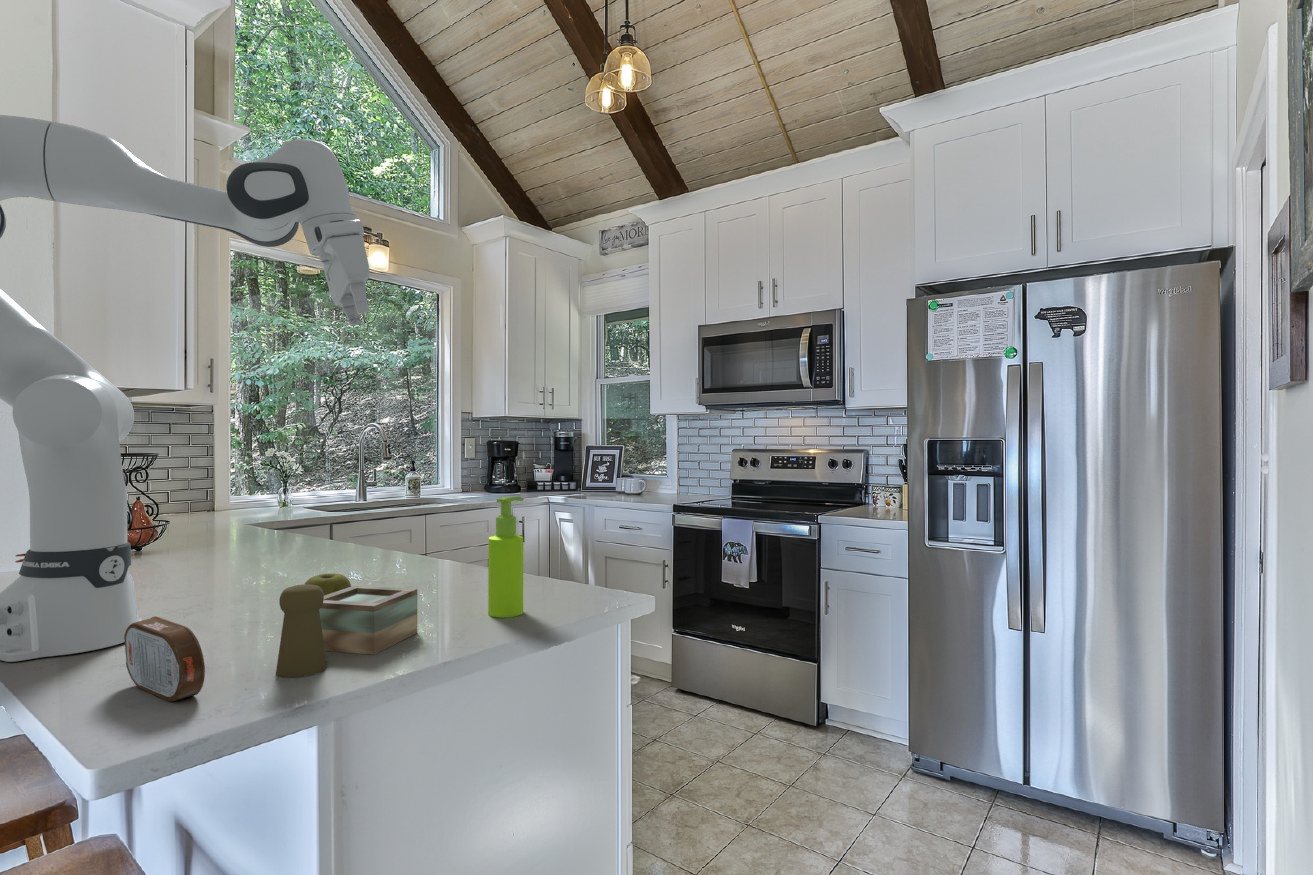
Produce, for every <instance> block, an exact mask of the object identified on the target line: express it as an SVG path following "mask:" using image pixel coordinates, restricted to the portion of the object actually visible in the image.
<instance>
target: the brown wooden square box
mask: <svg viewBox="0 0 1313 875" xmlns="http://www.w3.org/2000/svg"><path fill="white" fill-rule="evenodd" d="M319 612H320V619H321V626H322V633H323V640H324V647H325V652H336V653H347V654H348V653H350V654H360V655H361V654H364V655H376V654H378V653H380V652H382V651H384V650H386V649H389V648H390V647H392V646H394V645H396V644H398V643H400V642H402V641H404V640H406V639H407V638H410V637H412V636H414V635H416V634H418V588H407V587H404V588H403V587H388V586H387V587H386V586H373V585H371V586H367V585H351V587H349V588H346V589H343V590H340V591H337V592H334V593H331V594H328V595H325V596H324V601H323V605H322V606H321V608H320V609H319Z"/></svg>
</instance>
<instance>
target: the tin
mask: <svg viewBox="0 0 1313 875" xmlns="http://www.w3.org/2000/svg"><path fill="white" fill-rule="evenodd" d="M196 636H197V635H196V634H194V632H193V631H192V630H191V628H189V627H188V626H186V625H183V624H180V623H177V622H173V621H171V620H167V619H166V618H163V617H160V616H152V617H150V618H147V619H142V621H138V622H135V623H132V624H131V625H129V626H128V628H127V629H126V632H125V635H124V640H125V642H124V647H125V651H124V652H125V657H126V658H125V659H126V660H125V661H126V662H125V665H126V669H127V672H128V675H129V677H130V679H131V680H132V682H133V684H134V685H135V686H136V687H137V688H139V689H141V690H143V691H145V692H148V693H149V694H151V695H154V696H156V697H158V698H160V699H162V700H165V701H167V702H170V703H171V702H177V701H180V700H183V699H186V698H188V697H193V696H194V697H195V696H197V695H198V694H199V693H200V692H201V691H202V688H203V687H204V682H205V677H206V667H205V666H206V664H205V659H204V658H205V657H204V653H203V650H202V646H201V645H200V642H199V640H198V638H197V637H196Z"/></svg>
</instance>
